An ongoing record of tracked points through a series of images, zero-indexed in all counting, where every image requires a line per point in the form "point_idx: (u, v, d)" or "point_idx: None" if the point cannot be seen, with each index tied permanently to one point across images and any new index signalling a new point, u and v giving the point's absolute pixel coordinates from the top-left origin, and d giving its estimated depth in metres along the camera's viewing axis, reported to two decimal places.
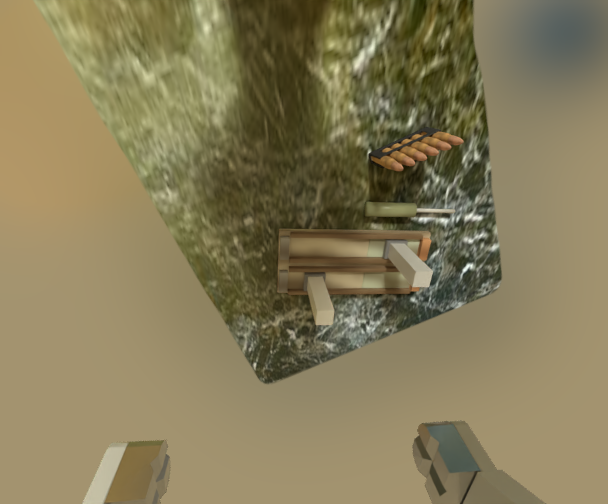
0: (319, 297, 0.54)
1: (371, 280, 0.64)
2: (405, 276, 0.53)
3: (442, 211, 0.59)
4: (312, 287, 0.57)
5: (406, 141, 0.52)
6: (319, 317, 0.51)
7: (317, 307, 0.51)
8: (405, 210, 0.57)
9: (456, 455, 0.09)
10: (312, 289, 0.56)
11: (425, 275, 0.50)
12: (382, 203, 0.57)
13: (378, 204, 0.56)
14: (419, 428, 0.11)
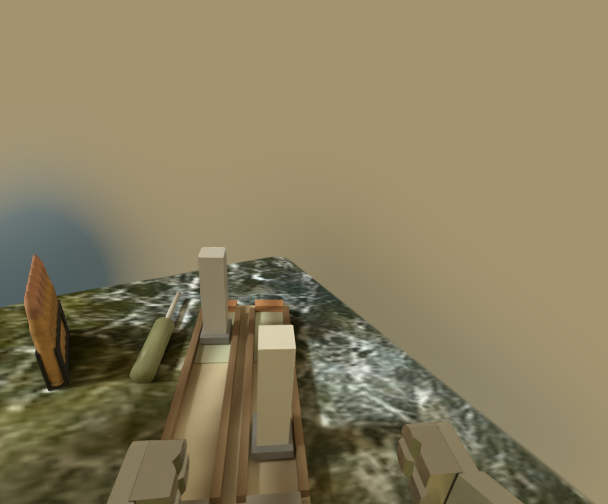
0: None
1: None
2: (221, 279, 0.37)
3: (174, 300, 0.49)
4: (257, 412, 0.27)
5: None
6: (276, 343, 0.24)
7: None
8: (156, 327, 0.41)
9: (438, 456, 0.09)
10: (257, 407, 0.26)
11: (206, 250, 0.38)
12: None
13: (137, 358, 0.37)
14: (403, 429, 0.10)
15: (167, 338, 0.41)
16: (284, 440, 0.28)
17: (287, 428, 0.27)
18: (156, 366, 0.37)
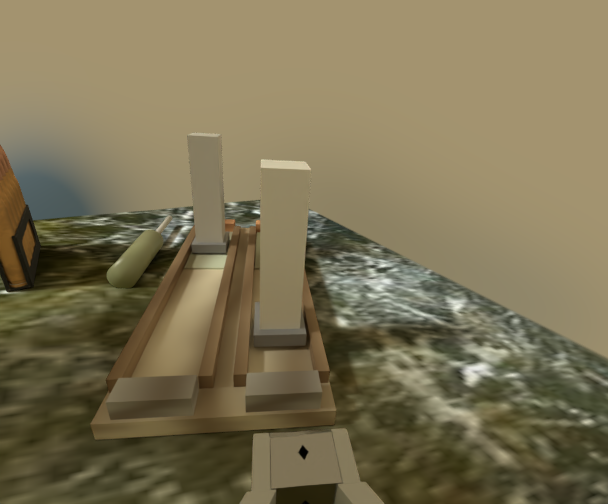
0: None
1: None
2: (215, 166, 0.31)
3: (164, 221, 0.43)
4: None
5: None
6: (285, 166, 0.18)
7: None
8: (142, 236, 0.35)
9: (322, 465, 0.09)
10: (260, 269, 0.20)
11: (198, 133, 0.32)
12: None
13: None
14: None
15: (154, 248, 0.35)
16: (295, 322, 0.22)
17: (299, 303, 0.21)
18: (139, 269, 0.31)
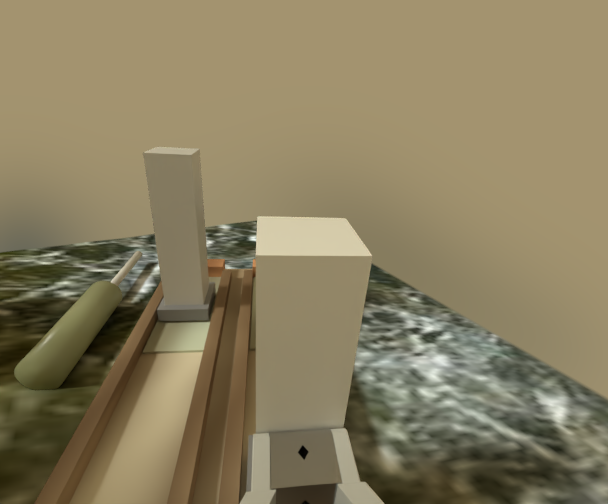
0: None
1: None
2: (189, 199, 0.21)
3: (130, 261, 0.32)
4: None
5: None
6: (312, 245, 0.08)
7: None
8: (86, 295, 0.25)
9: (321, 466, 0.09)
10: (256, 432, 0.10)
11: (163, 149, 0.21)
12: (42, 339, 0.21)
13: (35, 345, 0.20)
14: None
15: (103, 312, 0.24)
16: None
17: None
18: (70, 357, 0.20)
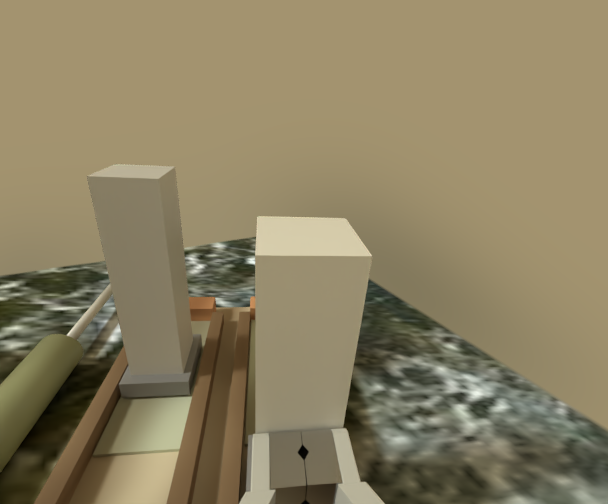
0: None
1: None
2: (158, 240, 0.15)
3: (100, 298, 0.26)
4: None
5: None
6: (311, 245, 0.08)
7: (255, 283, 0.08)
8: (31, 358, 0.19)
9: (322, 466, 0.09)
10: None
11: (121, 168, 0.15)
12: None
13: None
14: None
15: (52, 384, 0.18)
16: None
17: None
18: None
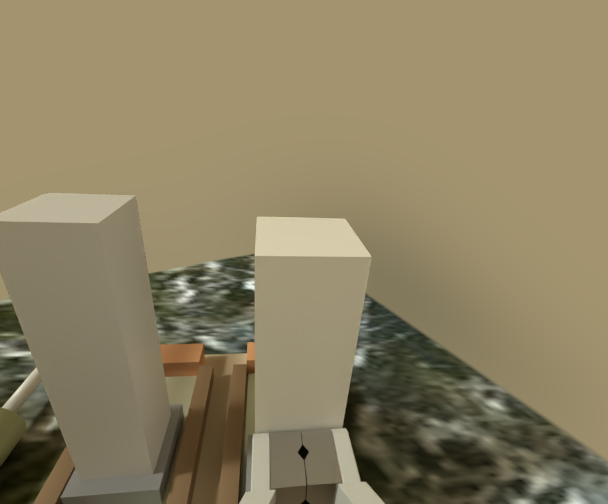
0: None
1: None
2: (105, 310, 0.10)
3: None
4: None
5: None
6: (311, 246, 0.08)
7: None
8: None
9: (322, 465, 0.09)
10: None
11: (51, 202, 0.10)
12: None
13: None
14: None
15: None
16: None
17: None
18: None
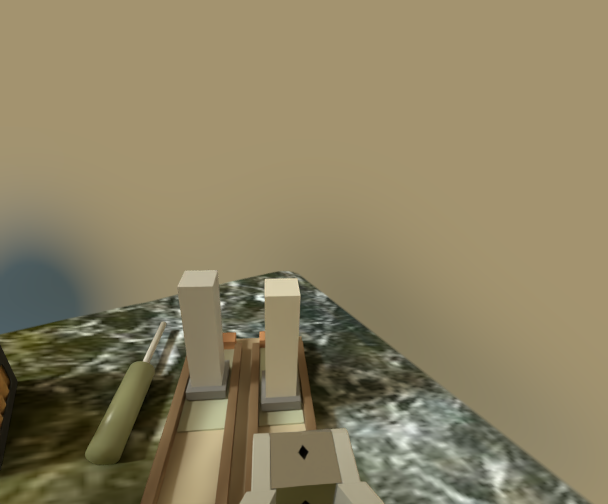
0: None
1: None
2: (211, 315, 0.27)
3: (157, 334, 0.39)
4: (265, 362, 0.28)
5: None
6: (282, 292, 0.26)
7: None
8: (128, 377, 0.31)
9: (322, 466, 0.09)
10: None
11: (190, 276, 0.27)
12: None
13: None
14: None
15: (143, 392, 0.31)
16: (292, 391, 0.29)
17: (294, 379, 0.29)
18: (124, 439, 0.26)
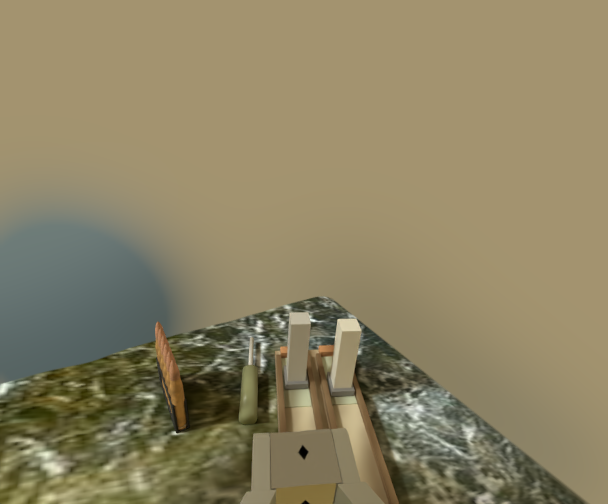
0: (337, 348, 0.47)
1: None
2: (306, 339, 0.47)
3: (251, 346, 0.58)
4: (336, 367, 0.48)
5: (165, 390, 0.47)
6: (350, 328, 0.45)
7: (340, 335, 0.45)
8: (248, 374, 0.51)
9: (321, 466, 0.09)
10: (336, 365, 0.47)
11: (294, 316, 0.47)
12: (241, 400, 0.47)
13: (241, 404, 0.46)
14: None
15: (257, 384, 0.50)
16: (349, 385, 0.49)
17: (352, 377, 0.48)
18: None
